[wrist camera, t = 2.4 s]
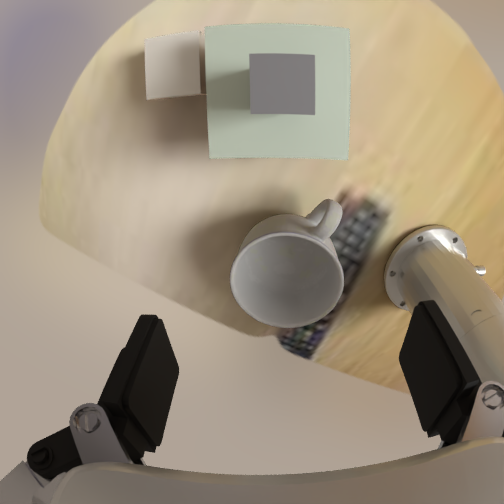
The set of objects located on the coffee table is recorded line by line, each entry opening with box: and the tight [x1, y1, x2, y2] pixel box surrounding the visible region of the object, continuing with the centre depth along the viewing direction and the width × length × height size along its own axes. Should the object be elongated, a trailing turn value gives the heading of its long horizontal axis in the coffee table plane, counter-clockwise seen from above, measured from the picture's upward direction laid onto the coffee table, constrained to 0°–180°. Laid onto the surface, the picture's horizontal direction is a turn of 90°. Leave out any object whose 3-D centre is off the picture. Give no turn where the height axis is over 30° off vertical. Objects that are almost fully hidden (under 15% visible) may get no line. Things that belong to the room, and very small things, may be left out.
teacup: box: [230, 199, 344, 328], centre depth 31 cm, size 14×11×8 cm
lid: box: [205, 23, 351, 160], centre depth 17 cm, size 10×10×8 cm
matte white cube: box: [145, 30, 206, 100], centre depth 24 cm, size 5×6×5 cm
